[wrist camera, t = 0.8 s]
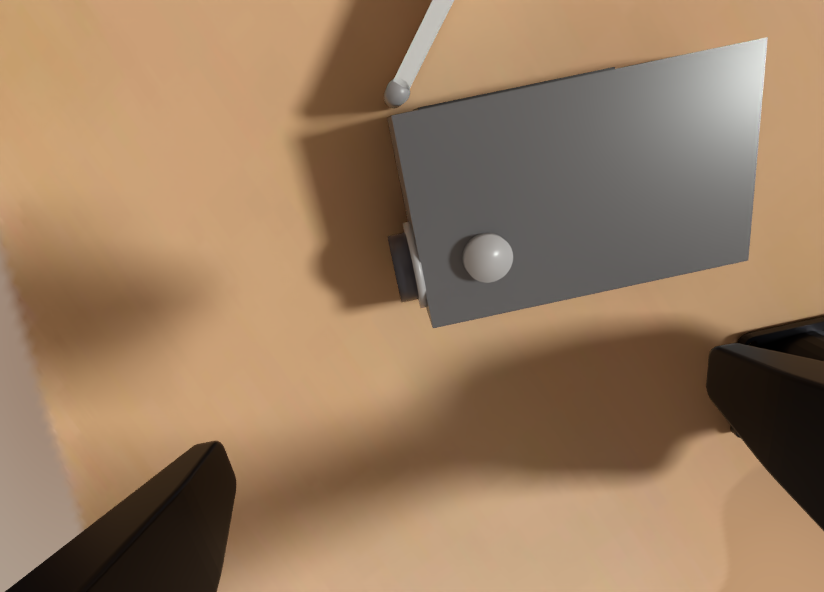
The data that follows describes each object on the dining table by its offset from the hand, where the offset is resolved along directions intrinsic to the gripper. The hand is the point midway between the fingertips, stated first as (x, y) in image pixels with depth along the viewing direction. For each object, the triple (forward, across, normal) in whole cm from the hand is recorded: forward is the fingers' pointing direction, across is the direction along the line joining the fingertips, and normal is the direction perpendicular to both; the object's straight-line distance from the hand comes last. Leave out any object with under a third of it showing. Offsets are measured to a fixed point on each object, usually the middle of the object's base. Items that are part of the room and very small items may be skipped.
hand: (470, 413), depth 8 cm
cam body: (+13, -6, -2) cm, 15 cm away
